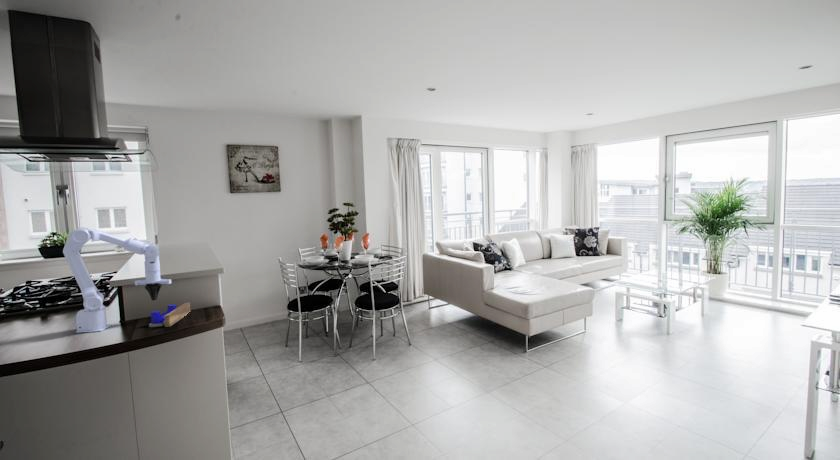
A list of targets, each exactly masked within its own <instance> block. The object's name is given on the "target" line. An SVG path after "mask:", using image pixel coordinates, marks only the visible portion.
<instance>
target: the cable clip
mask: <svg viewBox="0 0 840 460" xmlns="http://www.w3.org/2000/svg"><path fill="white" fill-rule="evenodd" d="M176 308H177V304H168V305H167V308H166V309H167V310H166V311H165V312H162V314H161V311H151V312H150V316H151V317H150V318H151V323H163V321H165V319H164V316H165V315H166V314H168V313H170V312H171V311H173V310H175V309H176Z"/></svg>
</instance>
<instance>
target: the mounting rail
mask: <svg viewBox="0 0 840 460" xmlns="http://www.w3.org/2000/svg"><path fill="white" fill-rule="evenodd" d="M155 327H156V328H157V327H165V321H163V323H152V322H150V323H149V324H148V328H155Z"/></svg>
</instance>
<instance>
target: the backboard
mask: <svg viewBox="0 0 840 460" xmlns="http://www.w3.org/2000/svg"><path fill="white" fill-rule="evenodd" d="M189 312H192V311H191V302H184V303H183V304H181V305H179V306H178V307H176V309H175V310H173V311H171V312H170V313H168V314H166V315H165V316H164V319H165V326H164V327H165V328H168V327H169V328H171V327H172V326H173V325H175V324H176V323H178V322H179V321H180V320H182V319H183V318H184V316H185V317H186V316H187V314H188V313H189ZM189 314H190V313H189ZM189 314H188V315H189Z"/></svg>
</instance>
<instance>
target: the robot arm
mask: <svg viewBox="0 0 840 460" xmlns="http://www.w3.org/2000/svg"><path fill="white" fill-rule="evenodd" d="M90 241H91V242H98V241H101V242H106V243H109V244H112V245H117V246H120V247H123V250H124V251H127V252H129V253H133V254H136V255H142V256H143V255H144V274H145V275H144V276H145V279H143V280H142V279H141V280H140V279H139V280H135V281H134V286H144V289H145V290H146V291H147V293H148V294H149V296H150V297H149V298H150V299H151V301H157V300H158V296H159V292H160V291H161V288H162V286H163V285H165V284H166V285H170V284H172V279H171V278H170V279H168V278H167V279H165V278H161V264H160V263H161V262H160V256H159V255H160V250H159V247H158V246H156V245H155V244H153V243H150V242H147V241H146V242H144V241H141V240H139V239H138V238H136V237H133V238H132V237H131V238H127V239H125V238H122V237H119V236H116V235H113V234H110V233H107V232H104V231H101V230H97V229H89V228H88V227H78V228H75V229H74V230H72V231H71V232H70V234H68V236H67V237H66V241H65V242H64V247H63V250H62V254H63V256H64V258H65V260H66V262H67V264H68V266H69V268H70V270H71V273H72V274H73V277H74V278H75V281H76V283H77V285H78V286H79V289H80V292H81V295H82V298H83V303H82V304H83V307H84V308H83V309H80V310H79V311H77V313H76V315H75V321H76V322H75V323H76V331H75V333H76V334H77V333H80V334H81V333H93V332H94V333H95V332H102V331H104V330H106V329H108V328H109V327H112V326H113V324H112V323H111V324H110V323H109V324H108V322H107V312H106V311H107V308H106V305H104V304H103V303H104V300H105V295H104V294H103V293H102V292H100V291H99V289H98V288H97V286H96V285H95V282H94V281H93V279H92V277H91V276H92V275H90V273H89V272H90V271H89V270H88V268H87V265H86V263H85V262H84V260H83V257H82V255H81V253H80V251H81V249H82V248H83V247H84V245H85V244H86V243H88V242H90Z"/></svg>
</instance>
